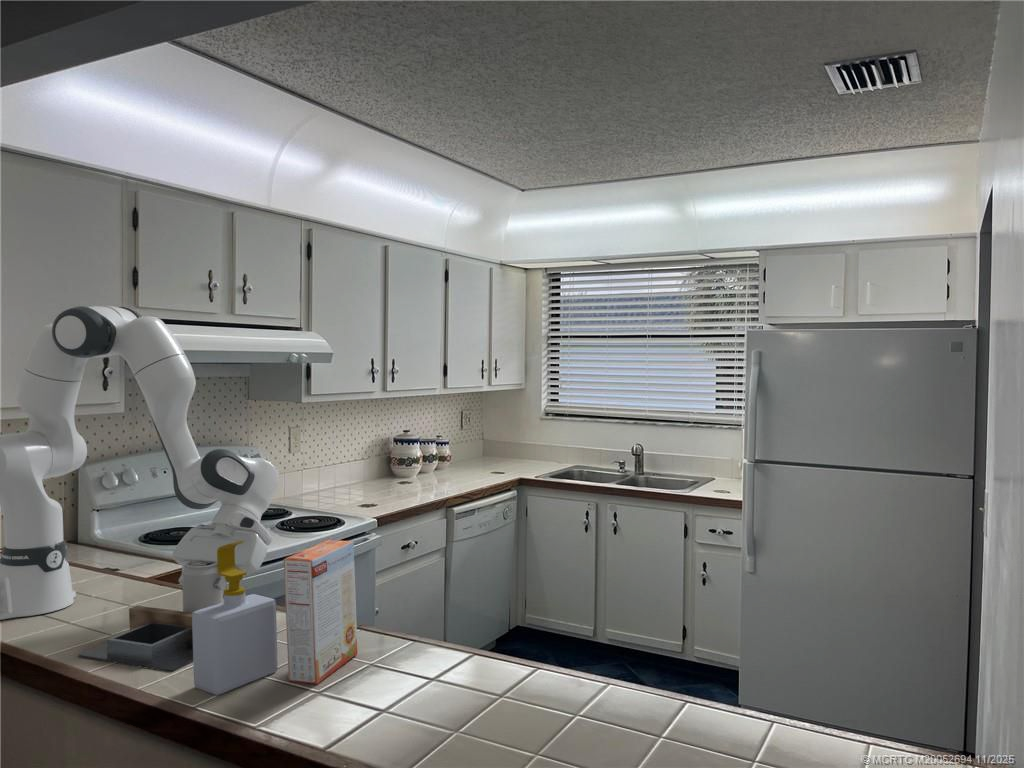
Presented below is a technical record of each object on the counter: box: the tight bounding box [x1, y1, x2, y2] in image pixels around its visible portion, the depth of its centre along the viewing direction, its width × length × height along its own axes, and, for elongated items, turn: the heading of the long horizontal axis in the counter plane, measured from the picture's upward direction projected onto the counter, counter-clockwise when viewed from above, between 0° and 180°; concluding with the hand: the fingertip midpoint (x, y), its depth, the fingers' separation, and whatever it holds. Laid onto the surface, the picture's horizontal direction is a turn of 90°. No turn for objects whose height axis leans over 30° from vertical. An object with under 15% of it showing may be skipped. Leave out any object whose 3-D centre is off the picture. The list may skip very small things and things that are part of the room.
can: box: [181, 560, 224, 613], centre depth 158 cm, size 8×8×12 cm
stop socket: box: [78, 621, 193, 673], centre depth 145 cm, size 22×12×3 cm, turn 69°
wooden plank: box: [128, 605, 193, 631], centre depth 152 cm, size 24×2×5 cm, turn 69°
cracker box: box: [283, 539, 358, 685], centre depth 136 cm, size 14×6×21 cm, turn 162°
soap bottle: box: [192, 541, 278, 696], centre depth 132 cm, size 12×7×23 cm, turn 145°
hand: (200, 586), depth 158 cm, fingers closed on can, 7 cm apart
